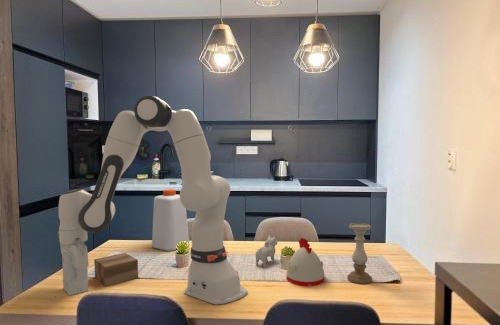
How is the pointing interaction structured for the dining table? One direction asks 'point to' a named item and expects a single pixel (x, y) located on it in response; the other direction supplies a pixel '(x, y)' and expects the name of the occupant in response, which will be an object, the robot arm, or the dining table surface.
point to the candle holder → (359, 255)
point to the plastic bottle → (169, 221)
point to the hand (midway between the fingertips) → (75, 275)
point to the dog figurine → (266, 251)
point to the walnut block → (116, 269)
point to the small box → (73, 277)
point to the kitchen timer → (305, 266)
